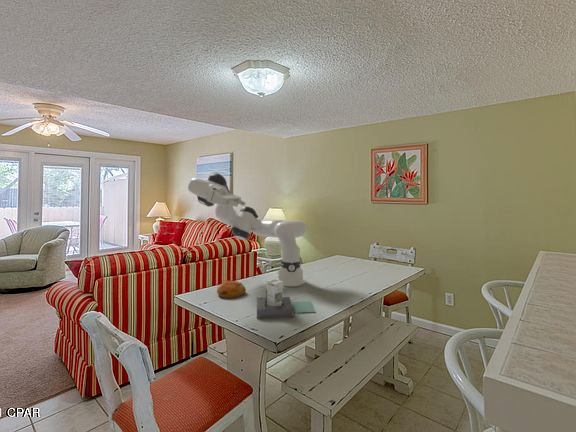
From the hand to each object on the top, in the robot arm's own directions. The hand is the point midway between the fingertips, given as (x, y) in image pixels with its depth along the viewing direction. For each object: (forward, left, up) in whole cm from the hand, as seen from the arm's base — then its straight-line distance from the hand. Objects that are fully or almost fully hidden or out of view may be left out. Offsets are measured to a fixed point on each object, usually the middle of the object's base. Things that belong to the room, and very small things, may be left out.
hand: (241, 204), depth 153 cm
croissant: (-12, -7, -50) cm, 52 cm away
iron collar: (+14, +16, -49) cm, 54 cm away
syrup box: (+14, +16, -49) cm, 54 cm away
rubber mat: (+10, +30, -49) cm, 59 cm away
